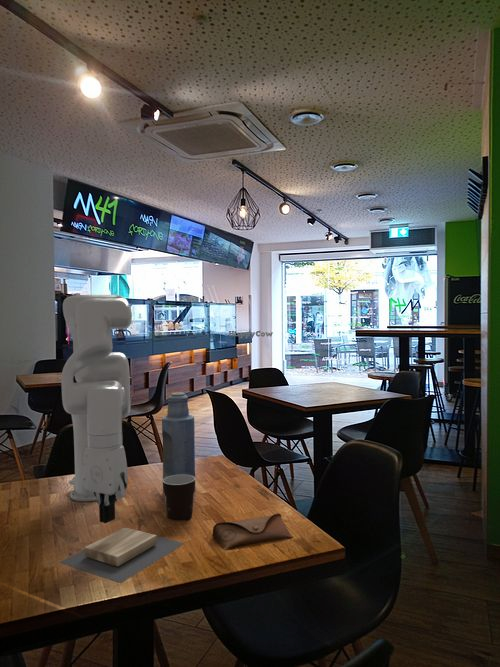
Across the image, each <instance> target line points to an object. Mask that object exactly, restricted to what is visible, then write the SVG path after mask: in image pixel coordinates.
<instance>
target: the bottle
mask: <svg viewBox="0 0 500 667" xmlns="http://www.w3.org/2000/svg"><path fill="white" fill-rule="evenodd" d="M188 400H189V397H188V395H186V393H185V392H181V391H180V392H178V391H177V392H171V393H170V395H169V396H168V397H167V411H166V412H167V413H166V415H165V416H162V418H161V435H162V436H161V437H162V480H163V479H164V478H165V477H168V476H172V475H180V474H184V475H191V476H194V477H195V478H196V461H195V460H196V455H195V454H196V451H195V449H196V448H195V447H196V446H195V440H196V439H195V432H196V431H195V430H196V429H195V416H194V415H193V414H190V413H189V412H190V411H189V403H188ZM162 491H163V492H162V493H163V494H164V490H163V489H162ZM195 492H196V488H195V489H194V493H195Z"/></svg>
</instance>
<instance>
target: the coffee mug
mask: <svg viewBox="0 0 500 667" xmlns="http://www.w3.org/2000/svg"><path fill="white" fill-rule="evenodd" d="M161 482H162V491H163V490H164V493H163V496H164V502H165V509H166V517H167V519H168V520H171V521H175V522H176V521H179V522H180V521H190V520H191V519H192V518H193V512H194V511H193V510H194V497H195V492H194V489H195V490H196V476H195V477H194V476H191V475H184V474H180V475H172V476H168V477H165V478H164V479H163V478H162V481H161Z"/></svg>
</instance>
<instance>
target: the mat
mask: <svg viewBox="0 0 500 667" xmlns="http://www.w3.org/2000/svg"><path fill="white" fill-rule="evenodd" d="M184 544H185V543H184V542H181V541H179V540H178V541H177V540H173V539H169V538H166V537H163V536H162V537H161V536H159V535H157V544H156V545H154V546H152V547H151V548H149V549H147V550H146V551H144V552H142V553H140V554H139V555H137V556H135V557H134V558H132V559H130V560H128V561H127V562H125V563H123V564H122V565H120V566H115V565H111V564H108V563H105V562H102V561H98V560H95V559H92V558H88V557H85V549H83V550H81V551H79V552H77V553H75V554H73V555H72V556H69V557H67V558H65V559H63V560H61V561H59V563H60V564H63V565H66V566H69V567H71V568H74V569H78V570H81V571H84V572H86V573H87V572H88V573H90V574H92V575H96V576H98V577H102V578H105V579H108V580H111V581H113V582H116V583H119V584H122V583H123V582H125V581H126V580H128V579H131V578H132V577H134V576H135V575H136V574H138V573H139V572H142V571H143V570H144V569H146V568H147V567H149V566H151V565H153V564H154V563H155V562H157V561H160V560H161V559H162V558H164V557H166V556H167V555H168V554H170V553H172V552H174V551H175V550H176V549H178V548H180V547H181V546H183V545H184Z"/></svg>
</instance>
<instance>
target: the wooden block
mask: <svg viewBox="0 0 500 667" xmlns="http://www.w3.org/2000/svg"><path fill="white" fill-rule="evenodd" d="M157 536H158V535H157V534H152V533H149V532H145V531H141V530H137V529H132V528H128V527H123V528H120V529H118V530H117V531H115V532H112V533H111V534H108V535H106V536H105V537H104V536H103V537H102V538H100V539H98V540H97V541H94V542H92V543H90V544H88V545H86V546H84V547H83V548H84V550H85V557H88V558H92V559H95V560H98V561H102V562H105V563H108V564H111V565H115V566H120V565H122V564H123V563H125V562H127V561H128V560H130V559H132V558H134V557H135V556H137V555H139V554H140V553H142V552H144V551H146V550H147V549H149V548H151V547H152V546H154V545H156V544H157Z"/></svg>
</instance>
